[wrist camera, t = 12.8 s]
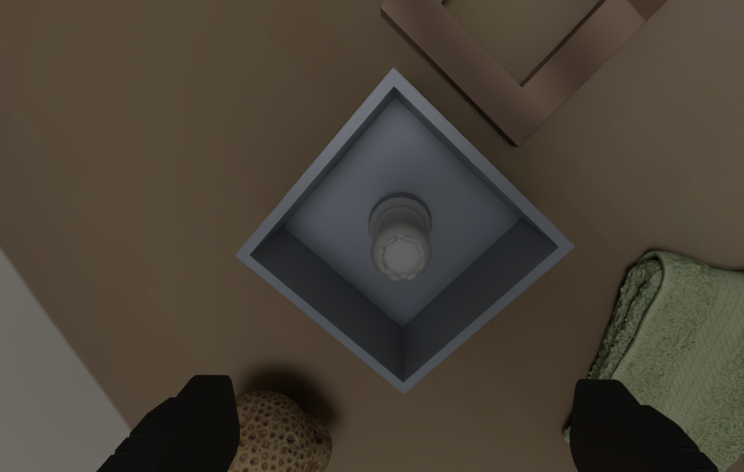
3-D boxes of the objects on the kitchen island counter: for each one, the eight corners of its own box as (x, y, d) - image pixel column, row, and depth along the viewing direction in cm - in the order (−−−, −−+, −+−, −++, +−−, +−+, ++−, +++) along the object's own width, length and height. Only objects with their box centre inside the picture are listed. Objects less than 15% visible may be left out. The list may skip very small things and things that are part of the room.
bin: (394, 83, 25) (393, 67, 18) (530, 216, 27) (575, 246, 20) (273, 224, 28) (234, 255, 21) (402, 334, 30) (403, 394, 23)
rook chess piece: (438, 242, 27) (455, 287, 19) (379, 258, 28) (372, 308, 20) (422, 183, 26) (433, 205, 18) (360, 200, 27) (346, 230, 19)
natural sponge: (212, 382, 32) (135, 488, 23) (301, 345, 31) (258, 443, 21) (265, 459, 34) (214, 587, 25) (351, 429, 33) (331, 553, 23)
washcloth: (552, 433, 32) (568, 465, 29) (630, 240, 27) (660, 255, 24) (703, 464, 32) (736, 500, 29) (811, 275, 27) (864, 295, 24)
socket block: (528, -170, 21) (538, -193, 19) (665, -7, 22) (683, -17, 21) (381, 14, 24) (380, 7, 22) (512, 145, 25) (518, 146, 24)
